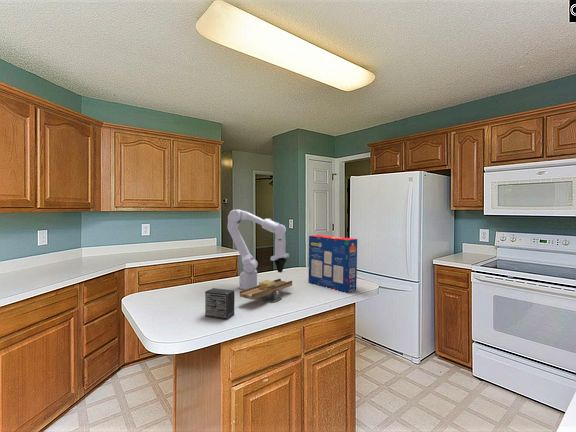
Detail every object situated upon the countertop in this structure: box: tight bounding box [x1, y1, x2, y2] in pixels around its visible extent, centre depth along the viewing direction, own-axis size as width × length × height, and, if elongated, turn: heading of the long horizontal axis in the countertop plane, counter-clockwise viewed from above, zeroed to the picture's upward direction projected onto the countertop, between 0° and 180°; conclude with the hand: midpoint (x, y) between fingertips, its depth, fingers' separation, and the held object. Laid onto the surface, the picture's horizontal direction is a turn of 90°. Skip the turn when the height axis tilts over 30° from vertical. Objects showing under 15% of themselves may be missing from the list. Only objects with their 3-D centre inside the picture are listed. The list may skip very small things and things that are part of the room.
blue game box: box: [307, 234, 358, 294], centre depth 170 cm, size 28×8×28 cm, turn 43°
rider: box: [258, 279, 275, 290], centre depth 146 cm, size 5×6×3 cm
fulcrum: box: [256, 290, 283, 304], centre depth 147 cm, size 12×7×5 cm, turn 56°
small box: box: [204, 287, 236, 321], centre depth 124 cm, size 11×6×10 cm, turn 71°
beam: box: [239, 278, 293, 301], centre depth 147 cm, size 8×31×2 cm, turn 146°
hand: (280, 272), depth 163 cm, fingers closed
